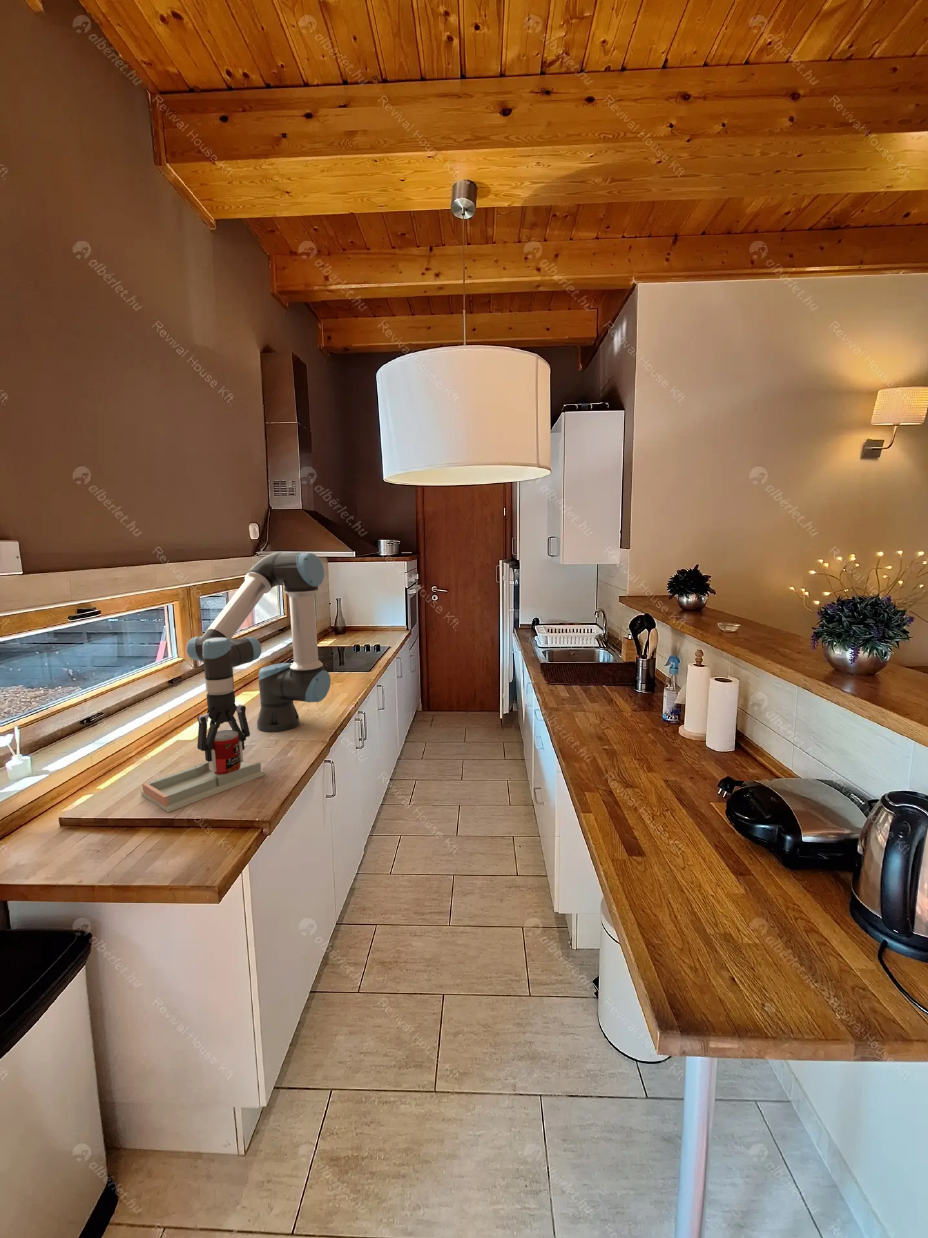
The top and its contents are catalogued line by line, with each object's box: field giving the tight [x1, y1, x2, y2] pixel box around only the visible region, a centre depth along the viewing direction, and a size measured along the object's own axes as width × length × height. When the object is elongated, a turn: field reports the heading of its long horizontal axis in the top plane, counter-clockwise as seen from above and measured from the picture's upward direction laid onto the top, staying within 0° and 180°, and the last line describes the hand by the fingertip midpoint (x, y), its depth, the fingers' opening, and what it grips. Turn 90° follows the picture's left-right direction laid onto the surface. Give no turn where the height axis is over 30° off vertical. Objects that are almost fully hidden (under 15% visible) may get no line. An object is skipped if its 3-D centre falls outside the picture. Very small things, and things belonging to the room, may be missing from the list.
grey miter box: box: [140, 761, 266, 813], centre depth 158 cm, size 28×16×4 cm, turn 142°
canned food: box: [212, 729, 241, 775], centre depth 163 cm, size 8×8×11 cm
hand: (226, 765), depth 163 cm, fingers closed on canned food, 8 cm apart
